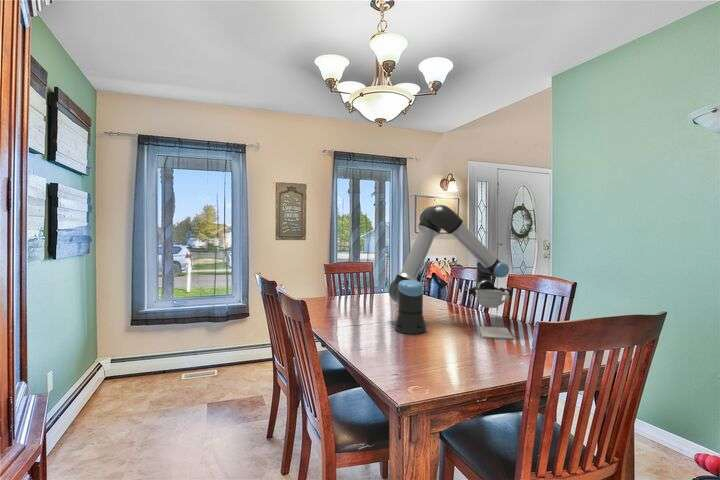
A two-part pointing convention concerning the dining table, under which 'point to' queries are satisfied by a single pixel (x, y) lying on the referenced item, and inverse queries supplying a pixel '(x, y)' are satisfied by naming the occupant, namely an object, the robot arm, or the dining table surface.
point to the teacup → (491, 298)
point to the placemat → (495, 332)
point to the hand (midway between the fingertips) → (492, 295)
